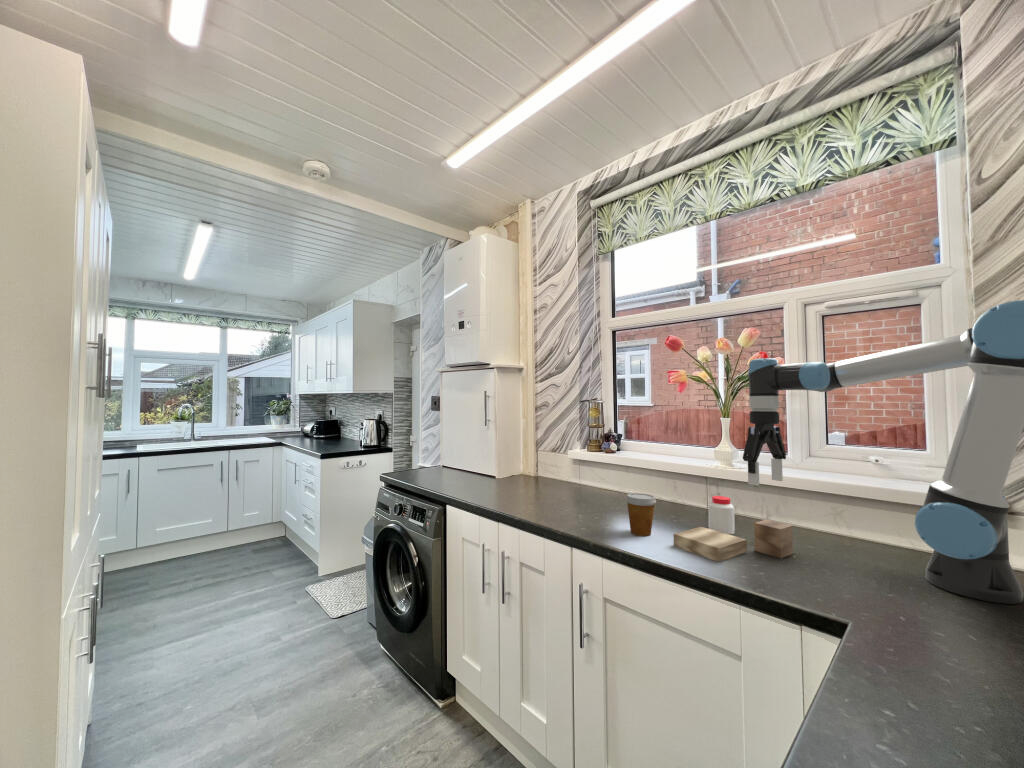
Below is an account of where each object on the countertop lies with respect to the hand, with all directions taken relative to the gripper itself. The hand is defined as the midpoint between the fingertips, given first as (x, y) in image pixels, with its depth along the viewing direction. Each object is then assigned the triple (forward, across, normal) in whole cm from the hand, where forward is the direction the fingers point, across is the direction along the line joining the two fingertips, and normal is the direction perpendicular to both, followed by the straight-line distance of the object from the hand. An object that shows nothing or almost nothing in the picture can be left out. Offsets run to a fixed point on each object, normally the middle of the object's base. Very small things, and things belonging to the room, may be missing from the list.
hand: (765, 482), depth 120 cm
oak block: (+20, +14, -9) cm, 26 cm away
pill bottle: (+20, -6, -17) cm, 27 cm away
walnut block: (+20, 0, +2) cm, 20 cm away
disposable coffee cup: (+19, +20, -29) cm, 40 cm away
